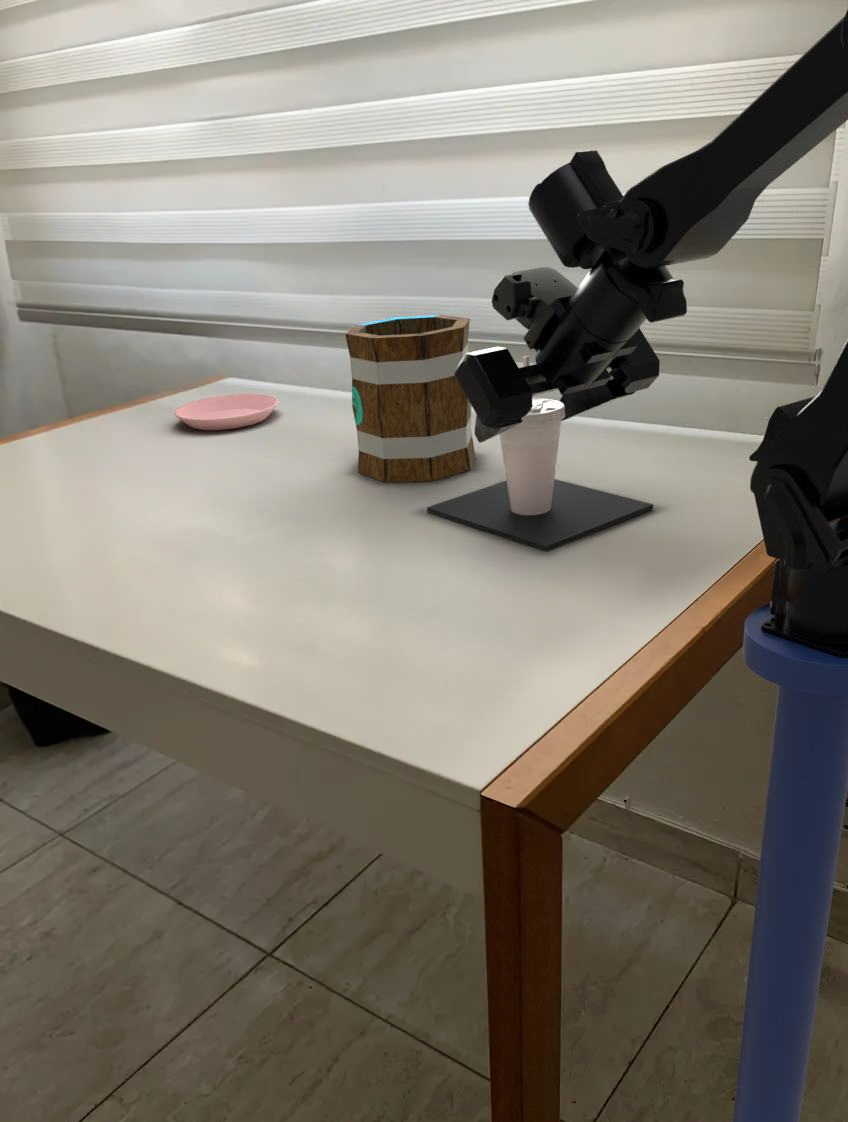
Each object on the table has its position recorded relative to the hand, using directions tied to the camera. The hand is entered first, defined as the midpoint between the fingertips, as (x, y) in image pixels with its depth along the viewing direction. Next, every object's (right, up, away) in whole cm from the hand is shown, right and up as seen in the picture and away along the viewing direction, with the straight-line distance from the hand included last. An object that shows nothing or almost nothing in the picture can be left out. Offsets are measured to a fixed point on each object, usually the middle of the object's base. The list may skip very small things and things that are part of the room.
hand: (518, 427), depth 94 cm
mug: (-9, +1, +23) cm, 24 cm away
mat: (+2, -7, +3) cm, 8 cm away
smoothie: (+2, -7, +2) cm, 8 cm away
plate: (-33, +11, +47) cm, 58 cm away
